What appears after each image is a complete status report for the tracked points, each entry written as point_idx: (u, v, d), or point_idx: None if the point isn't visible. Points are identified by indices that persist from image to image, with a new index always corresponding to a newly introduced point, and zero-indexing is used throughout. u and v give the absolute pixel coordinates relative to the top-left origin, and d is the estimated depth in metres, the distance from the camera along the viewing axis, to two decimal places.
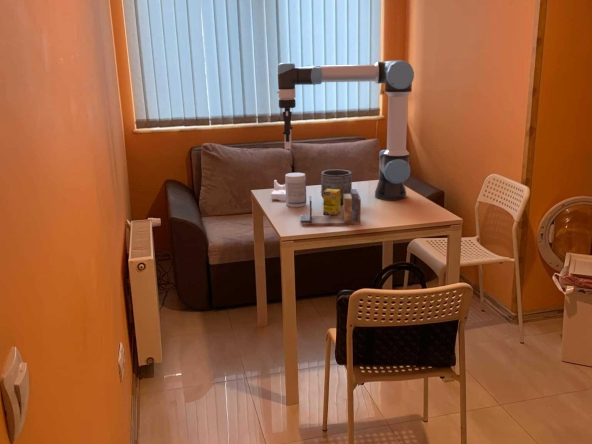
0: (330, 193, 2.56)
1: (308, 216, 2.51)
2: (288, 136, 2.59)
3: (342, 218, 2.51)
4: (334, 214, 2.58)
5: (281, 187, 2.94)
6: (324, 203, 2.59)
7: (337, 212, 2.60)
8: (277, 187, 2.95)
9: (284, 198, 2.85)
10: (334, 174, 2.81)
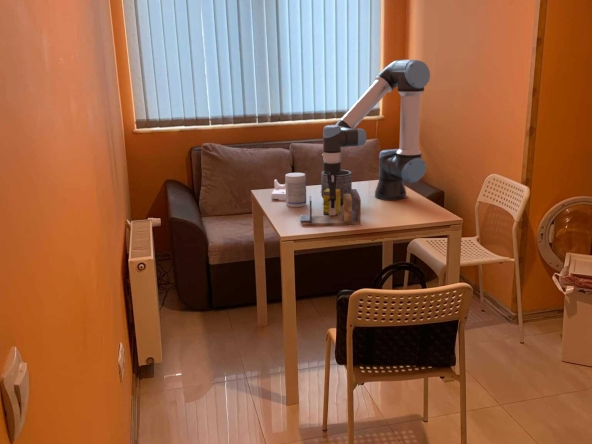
0: None
1: (308, 216, 2.51)
2: (333, 203, 2.52)
3: (342, 218, 2.51)
4: None
5: (281, 186, 2.95)
6: (324, 203, 2.58)
7: (337, 212, 2.60)
8: (277, 187, 2.95)
9: (284, 198, 2.86)
10: None
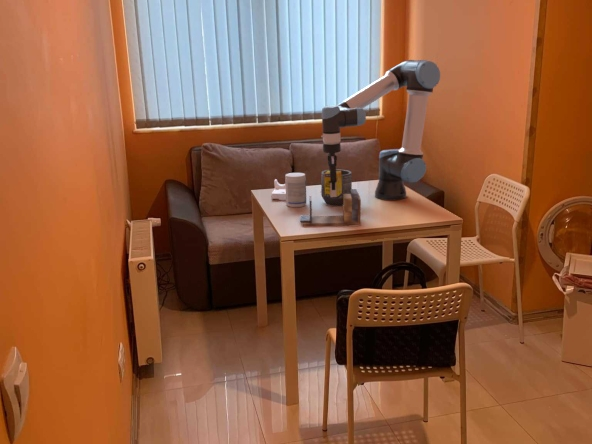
0: None
1: (308, 216, 2.51)
2: (334, 184, 2.52)
3: (342, 218, 2.51)
4: None
5: (281, 186, 2.95)
6: (325, 185, 2.56)
7: (339, 194, 2.58)
8: (277, 186, 2.96)
9: (284, 197, 2.86)
10: None
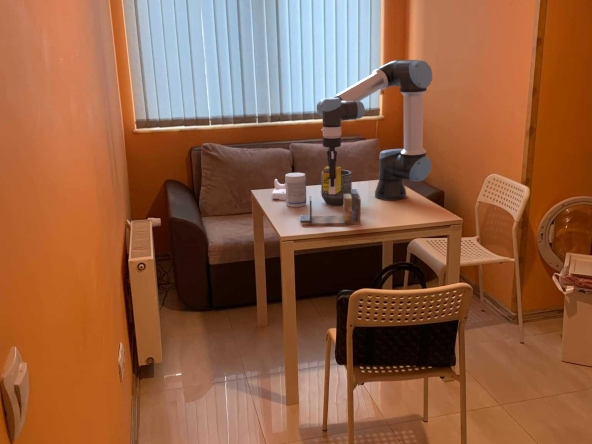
0: None
1: (308, 216, 2.51)
2: (333, 181, 2.39)
3: (342, 218, 2.51)
4: None
5: (281, 186, 2.96)
6: (324, 182, 2.43)
7: (338, 191, 2.44)
8: (278, 186, 2.96)
9: (285, 197, 2.86)
10: None
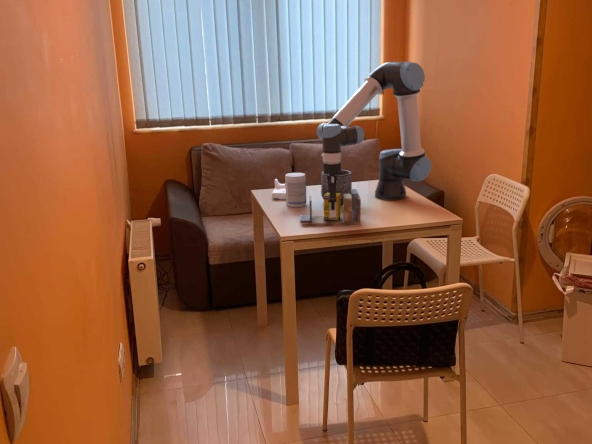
0: None
1: (308, 216, 2.51)
2: (334, 204, 2.40)
3: (342, 218, 2.51)
4: (335, 219, 2.46)
5: (282, 185, 2.96)
6: (325, 208, 2.46)
7: (338, 217, 2.48)
8: (278, 186, 2.97)
9: (285, 197, 2.87)
10: None
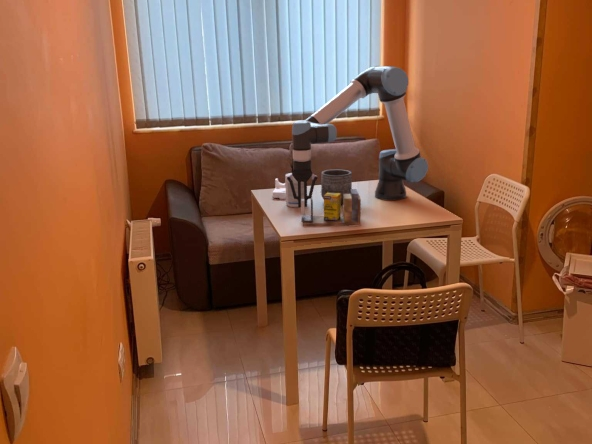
0: (331, 197, 2.44)
1: (309, 216, 2.51)
2: (298, 202, 2.47)
3: (342, 218, 2.51)
4: (335, 219, 2.46)
5: (282, 185, 2.97)
6: (325, 208, 2.46)
7: (338, 217, 2.48)
8: (278, 185, 2.98)
9: (285, 196, 2.88)
10: (334, 174, 2.81)
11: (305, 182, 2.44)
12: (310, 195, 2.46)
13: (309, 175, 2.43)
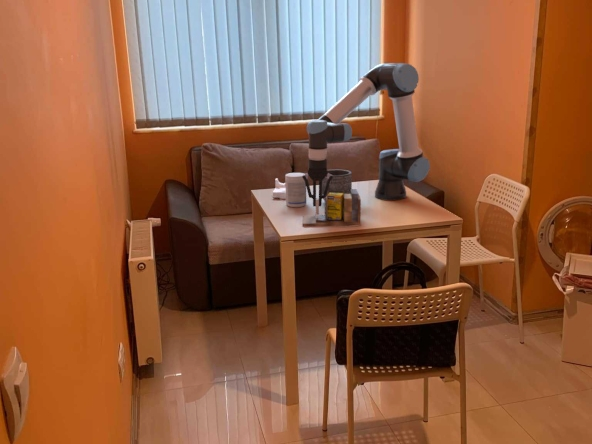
0: (334, 197, 2.44)
1: (323, 216, 2.51)
2: (313, 200, 2.47)
3: None
4: (339, 219, 2.46)
5: (282, 185, 2.98)
6: (328, 208, 2.46)
7: (341, 217, 2.48)
8: (278, 185, 2.98)
9: (285, 196, 2.88)
10: (334, 174, 2.81)
11: (320, 181, 2.43)
12: (325, 194, 2.46)
13: (324, 174, 2.43)
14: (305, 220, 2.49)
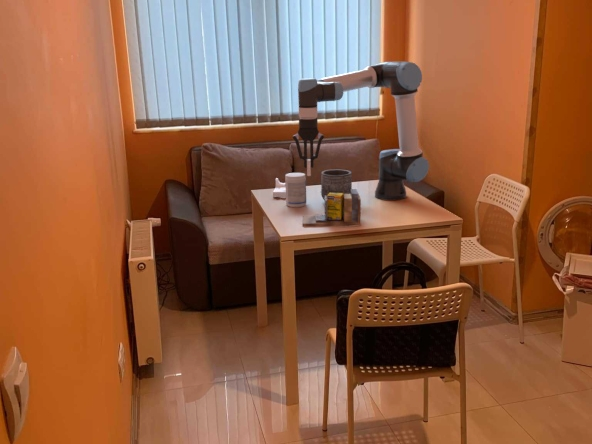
0: (334, 197, 2.44)
1: (323, 216, 2.51)
2: (304, 162, 2.42)
3: None
4: (339, 219, 2.46)
5: (282, 185, 2.98)
6: (328, 208, 2.46)
7: (341, 217, 2.48)
8: (279, 185, 2.99)
9: None
10: (334, 174, 2.81)
11: (311, 141, 2.39)
12: (316, 155, 2.41)
13: (315, 134, 2.38)
14: (305, 220, 2.49)
